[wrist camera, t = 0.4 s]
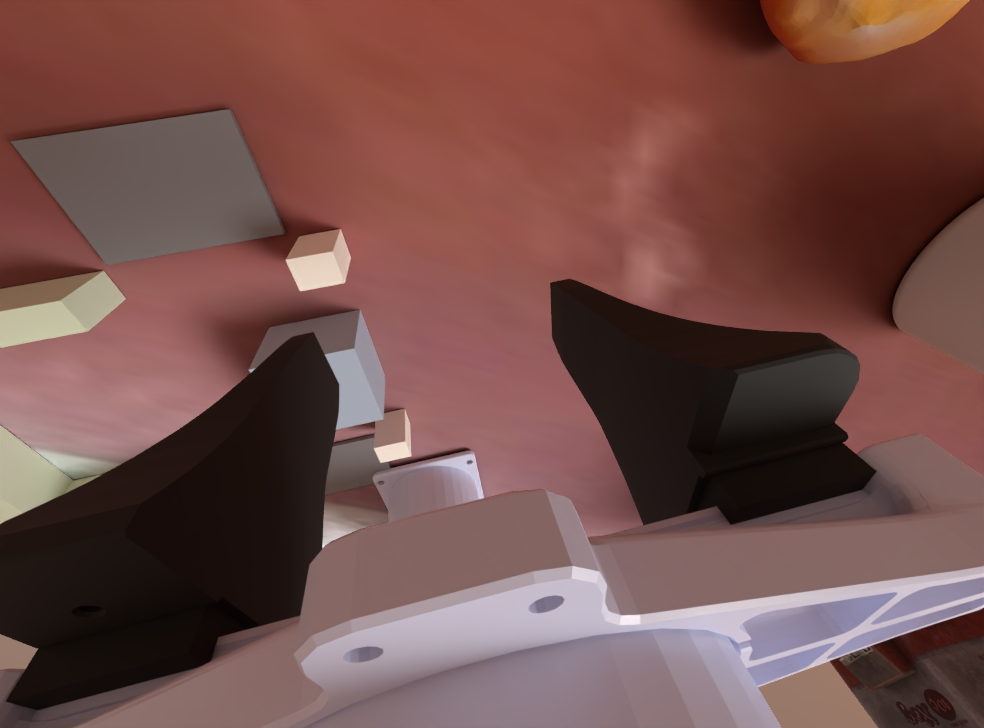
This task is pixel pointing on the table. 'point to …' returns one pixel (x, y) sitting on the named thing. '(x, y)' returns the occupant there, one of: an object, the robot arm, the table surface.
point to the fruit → (853, 25)
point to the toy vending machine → (922, 676)
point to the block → (340, 362)
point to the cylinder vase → (948, 291)
